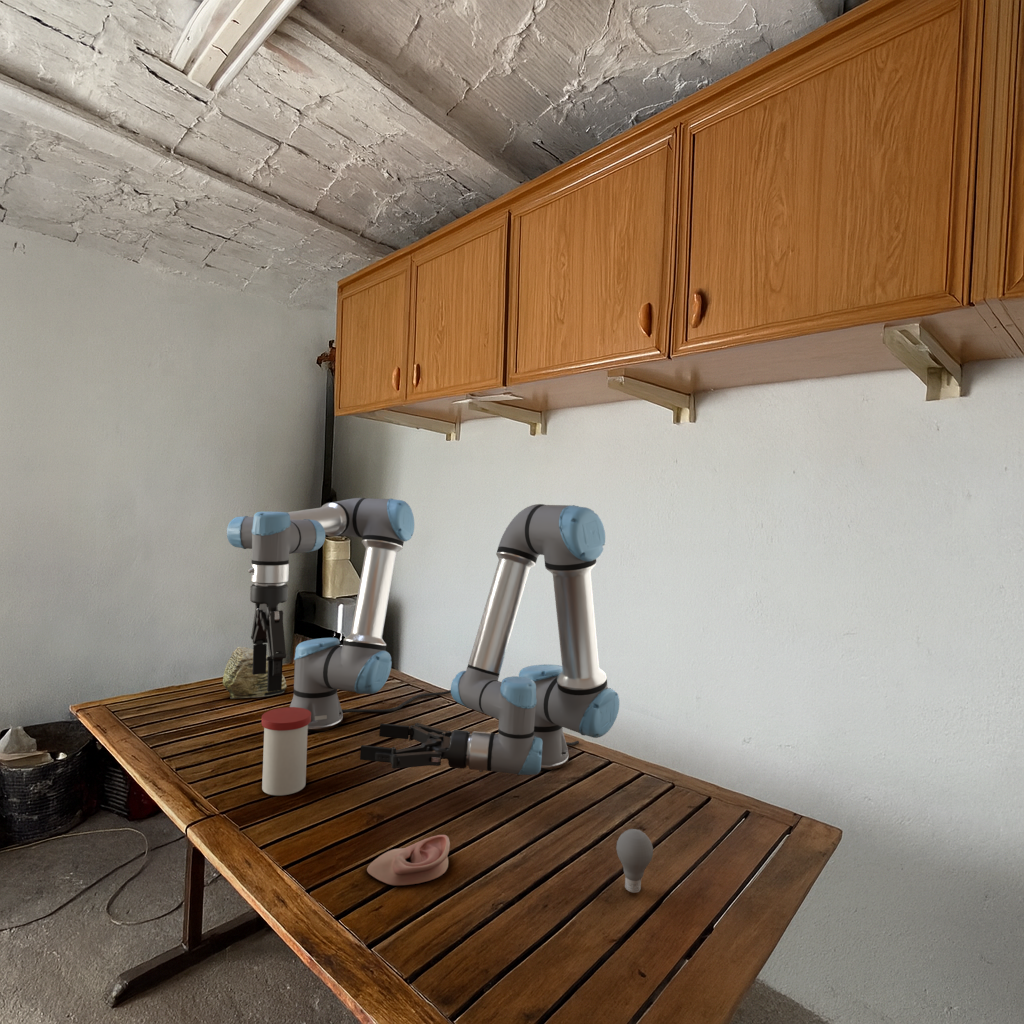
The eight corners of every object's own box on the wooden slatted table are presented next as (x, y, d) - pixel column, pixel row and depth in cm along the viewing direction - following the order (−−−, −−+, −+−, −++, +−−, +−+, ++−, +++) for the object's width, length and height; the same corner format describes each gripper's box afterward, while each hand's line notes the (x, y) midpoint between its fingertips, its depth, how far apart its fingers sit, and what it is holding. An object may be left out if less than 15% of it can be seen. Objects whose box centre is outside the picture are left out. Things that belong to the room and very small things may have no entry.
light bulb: (610, 879, 108) (613, 822, 108) (644, 879, 109) (647, 822, 109) (619, 902, 102) (622, 840, 102) (655, 901, 103) (658, 840, 103)
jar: (278, 774, 143) (281, 707, 143) (313, 780, 141) (316, 713, 141) (253, 791, 135) (255, 720, 135) (289, 798, 133) (292, 726, 132)
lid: (280, 711, 144) (280, 704, 144) (319, 717, 141) (320, 710, 141) (251, 726, 134) (251, 719, 134) (293, 733, 132) (293, 725, 131)
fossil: (218, 695, 195) (220, 647, 195) (278, 685, 208) (279, 640, 207) (228, 703, 189) (230, 653, 188) (289, 692, 201) (290, 645, 201)
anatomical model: (359, 856, 105) (387, 822, 116) (358, 879, 105) (386, 843, 116) (435, 869, 102) (456, 833, 114) (434, 893, 103) (455, 855, 114)
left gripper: (238, 576, 144) (236, 669, 145) (265, 593, 123) (261, 701, 124) (273, 575, 148) (270, 665, 149) (304, 591, 128) (300, 695, 128)
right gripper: (458, 793, 121) (350, 782, 123) (475, 746, 146) (386, 737, 148) (460, 754, 121) (352, 743, 123) (478, 714, 146) (388, 705, 148)
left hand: (266, 681), depth 136 cm, fingers open, 13 cm apart
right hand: (370, 740), depth 135 cm, fingers open, 13 cm apart
